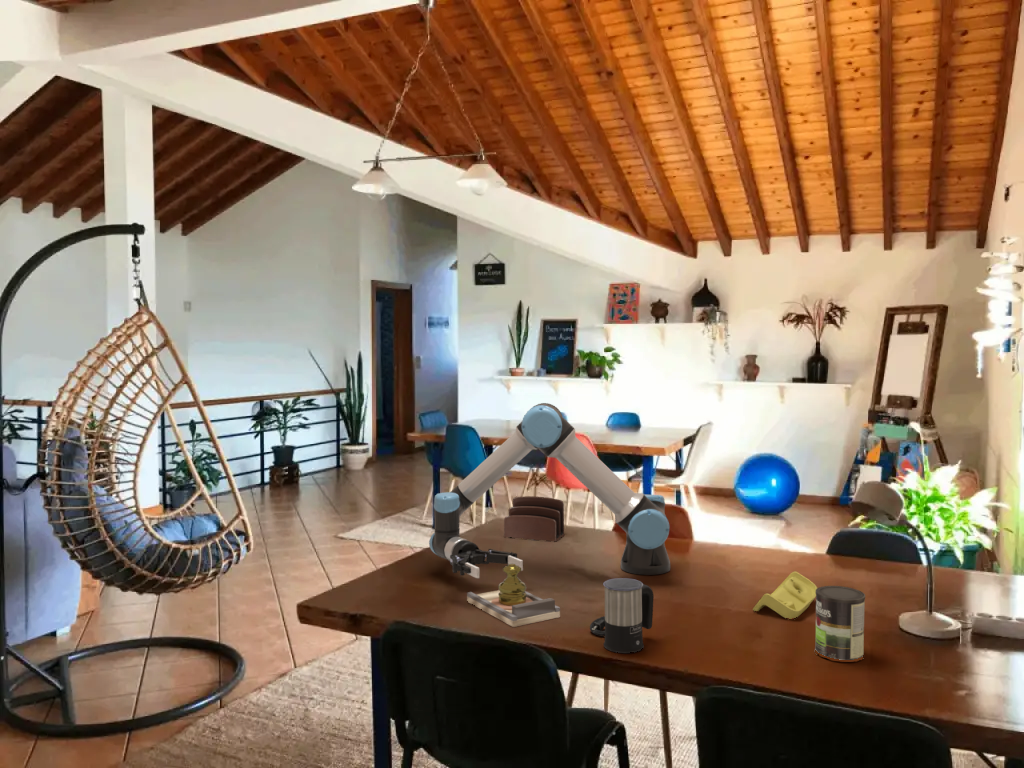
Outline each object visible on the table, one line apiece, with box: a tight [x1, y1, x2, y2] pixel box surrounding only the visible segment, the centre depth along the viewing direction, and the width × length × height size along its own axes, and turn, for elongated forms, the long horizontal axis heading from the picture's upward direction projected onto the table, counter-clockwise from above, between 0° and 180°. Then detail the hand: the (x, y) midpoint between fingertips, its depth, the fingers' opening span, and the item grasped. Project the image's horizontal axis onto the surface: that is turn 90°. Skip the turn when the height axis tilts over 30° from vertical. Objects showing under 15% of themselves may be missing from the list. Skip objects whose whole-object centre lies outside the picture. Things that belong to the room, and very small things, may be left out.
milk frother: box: [589, 577, 654, 654], centre depth 193 cm, size 14×16×15 cm
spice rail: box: [466, 589, 561, 628], centre depth 217 cm, size 24×14×4 cm, turn 31°
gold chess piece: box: [497, 563, 527, 606], centre depth 217 cm, size 7×7×10 cm
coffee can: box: [814, 585, 866, 660], centre depth 184 cm, size 10×10×14 cm
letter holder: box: [503, 495, 565, 543], centre depth 298 cm, size 10×20×14 cm, turn 69°
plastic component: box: [752, 571, 818, 620], centre depth 217 cm, size 20×7×10 cm
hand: (500, 569), depth 221 cm, fingers open, 13 cm apart
